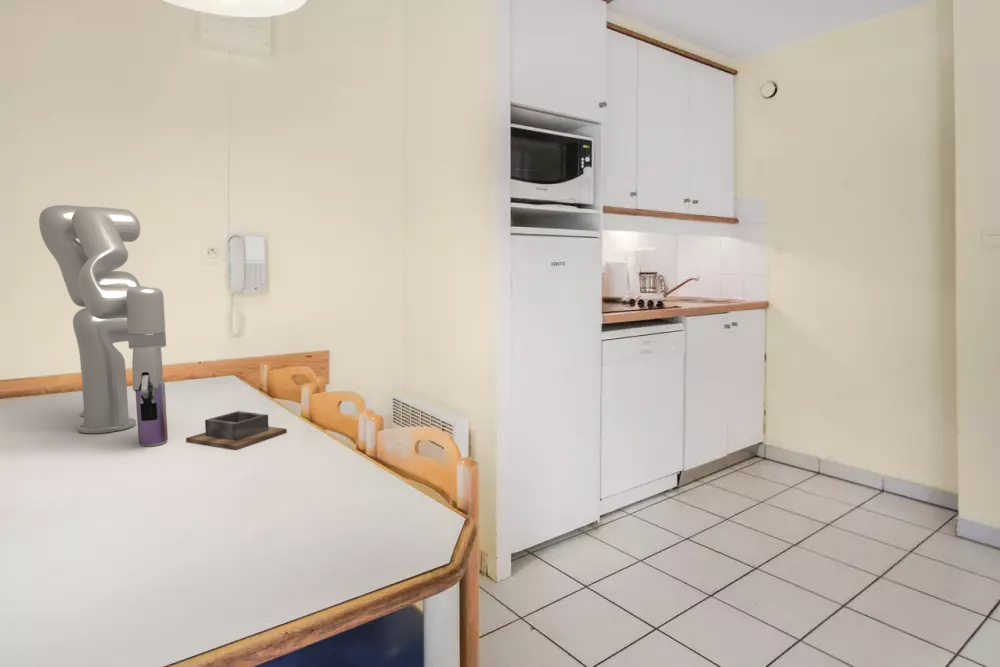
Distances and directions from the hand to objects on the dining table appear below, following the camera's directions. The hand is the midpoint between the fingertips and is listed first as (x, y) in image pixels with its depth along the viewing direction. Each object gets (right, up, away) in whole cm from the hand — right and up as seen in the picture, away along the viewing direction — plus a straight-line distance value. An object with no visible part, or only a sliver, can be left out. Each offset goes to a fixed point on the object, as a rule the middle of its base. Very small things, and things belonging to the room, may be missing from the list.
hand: (151, 416), depth 139 cm
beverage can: (0, -7, +1) cm, 7 cm away
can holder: (+18, -6, +6) cm, 20 cm away
